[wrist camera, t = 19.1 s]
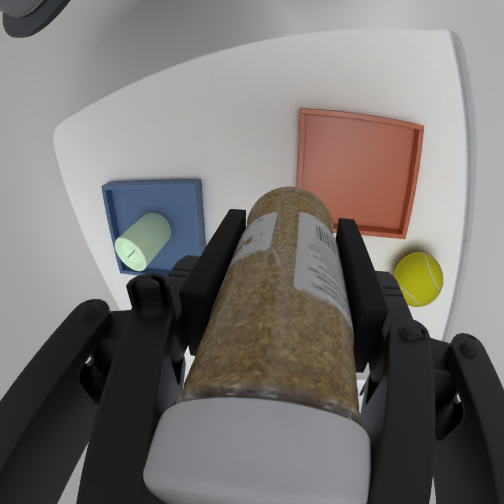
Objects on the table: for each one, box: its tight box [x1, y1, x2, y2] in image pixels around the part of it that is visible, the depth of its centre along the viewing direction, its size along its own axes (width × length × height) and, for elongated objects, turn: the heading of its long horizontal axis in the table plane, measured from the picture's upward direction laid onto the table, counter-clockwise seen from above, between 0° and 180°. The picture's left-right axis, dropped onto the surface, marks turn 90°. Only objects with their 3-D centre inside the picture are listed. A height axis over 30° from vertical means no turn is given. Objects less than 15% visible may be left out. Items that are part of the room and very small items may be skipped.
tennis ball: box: [393, 252, 443, 307], centre depth 33 cm, size 7×7×7 cm
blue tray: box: [101, 180, 206, 276], centre depth 38 cm, size 14×14×2 cm
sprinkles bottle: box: [143, 187, 371, 504], centre depth 9 cm, size 5×5×13 cm
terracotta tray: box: [297, 108, 424, 239], centre depth 31 cm, size 14×14×2 cm
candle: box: [115, 213, 171, 271], centre depth 35 cm, size 5×5×8 cm
